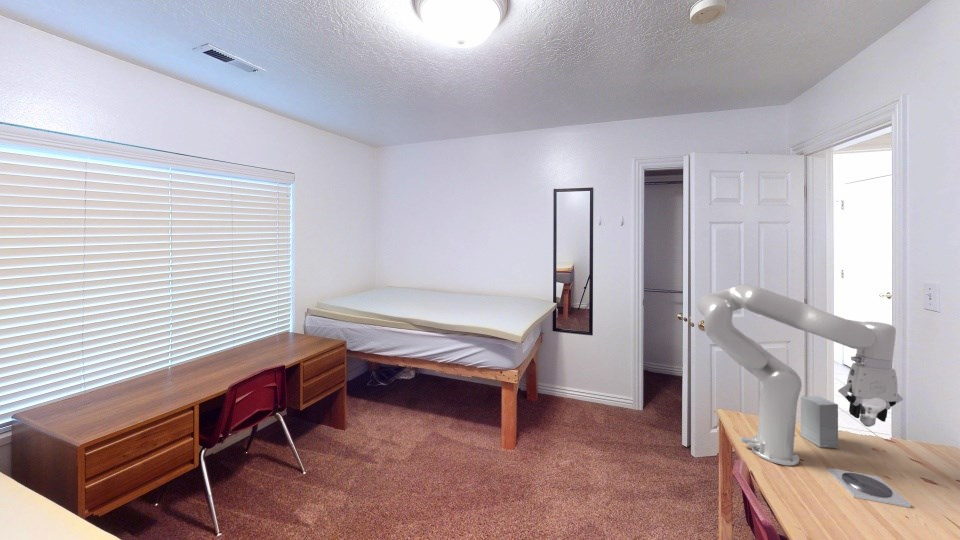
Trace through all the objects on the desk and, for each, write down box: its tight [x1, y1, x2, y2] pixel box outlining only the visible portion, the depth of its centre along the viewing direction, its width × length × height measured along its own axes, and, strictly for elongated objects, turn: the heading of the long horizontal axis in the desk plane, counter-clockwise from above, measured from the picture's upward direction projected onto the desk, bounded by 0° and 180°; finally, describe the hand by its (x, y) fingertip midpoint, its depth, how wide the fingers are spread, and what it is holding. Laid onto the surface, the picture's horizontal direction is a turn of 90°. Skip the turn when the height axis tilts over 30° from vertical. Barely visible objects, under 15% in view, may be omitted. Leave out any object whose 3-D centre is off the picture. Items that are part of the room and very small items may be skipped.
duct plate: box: [827, 467, 912, 508], centre depth 103 cm, size 12×12×1 cm
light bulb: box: [854, 396, 887, 428], centre depth 110 cm, size 7×7×12 cm
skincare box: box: [800, 395, 839, 449], centre depth 126 cm, size 8×7×16 cm
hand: (867, 417), depth 110 cm, fingers closed on light bulb, 5 cm apart
